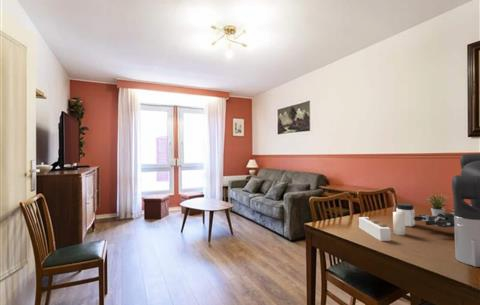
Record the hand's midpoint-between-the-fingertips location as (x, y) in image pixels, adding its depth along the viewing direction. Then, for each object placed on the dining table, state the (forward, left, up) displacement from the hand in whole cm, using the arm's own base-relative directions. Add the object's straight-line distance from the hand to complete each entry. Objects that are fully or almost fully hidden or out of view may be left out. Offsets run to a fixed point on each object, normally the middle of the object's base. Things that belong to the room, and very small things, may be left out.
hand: (419, 220), depth 128 cm
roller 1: (+17, +16, -4) cm, 24 cm away
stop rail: (+1, +24, -7) cm, 25 cm away
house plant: (+28, -33, -7) cm, 44 cm away
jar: (+16, -3, -7) cm, 18 cm away
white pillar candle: (0, +11, -7) cm, 13 cm away
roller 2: (+11, +16, -6) cm, 20 cm away
